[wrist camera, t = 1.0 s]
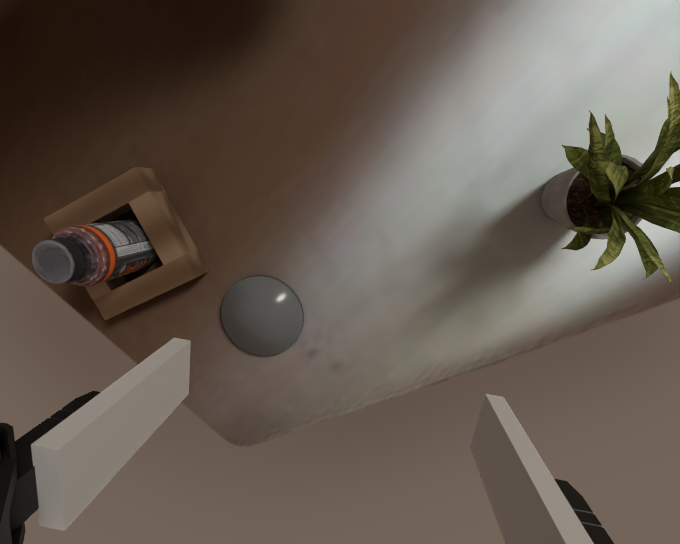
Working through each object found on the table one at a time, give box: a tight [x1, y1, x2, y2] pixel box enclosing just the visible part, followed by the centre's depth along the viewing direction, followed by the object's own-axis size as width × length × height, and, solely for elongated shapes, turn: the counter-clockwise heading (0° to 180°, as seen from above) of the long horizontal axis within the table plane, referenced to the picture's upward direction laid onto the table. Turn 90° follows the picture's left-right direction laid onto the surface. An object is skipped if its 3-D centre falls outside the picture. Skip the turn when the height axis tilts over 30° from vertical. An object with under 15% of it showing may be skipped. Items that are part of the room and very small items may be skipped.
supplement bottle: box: [32, 220, 157, 286], centre depth 35 cm, size 6×6×11 cm
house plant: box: [541, 73, 680, 284], centre depth 27 cm, size 14×14×16 cm
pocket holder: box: [43, 167, 209, 320], centre depth 39 cm, size 13×13×3 cm
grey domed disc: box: [221, 275, 304, 356], centre depth 41 cm, size 10×10×1 cm
